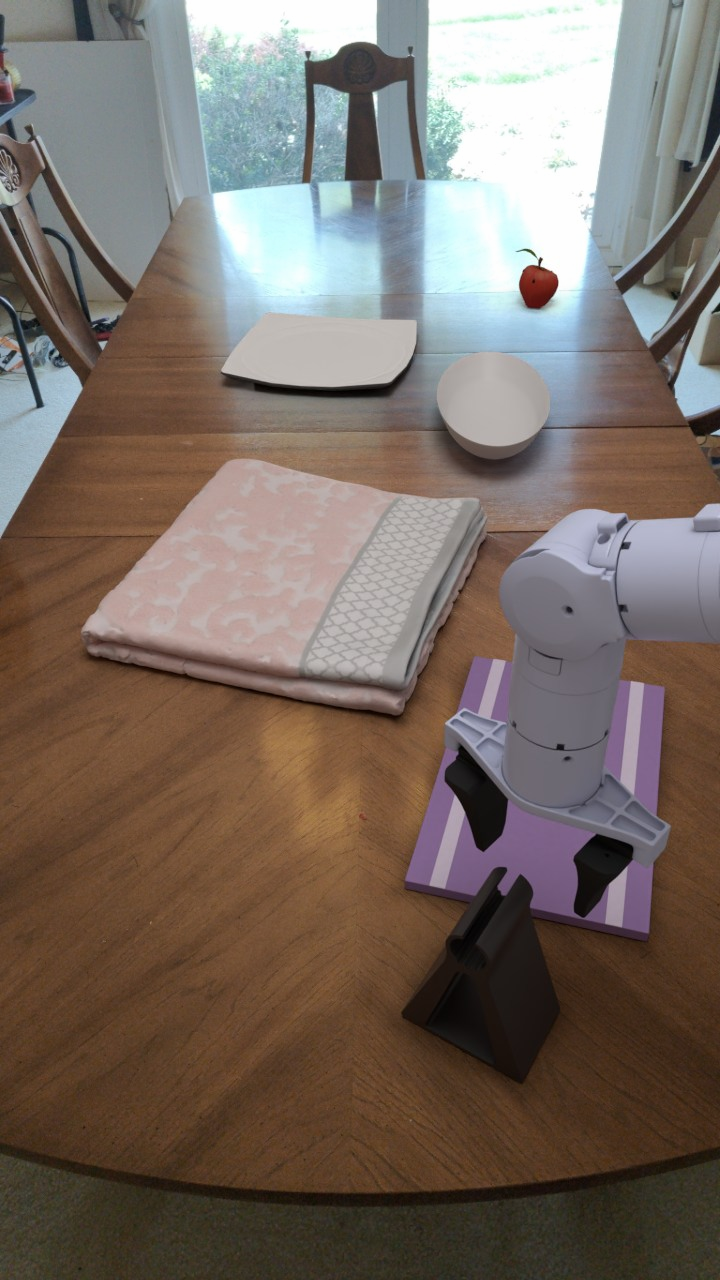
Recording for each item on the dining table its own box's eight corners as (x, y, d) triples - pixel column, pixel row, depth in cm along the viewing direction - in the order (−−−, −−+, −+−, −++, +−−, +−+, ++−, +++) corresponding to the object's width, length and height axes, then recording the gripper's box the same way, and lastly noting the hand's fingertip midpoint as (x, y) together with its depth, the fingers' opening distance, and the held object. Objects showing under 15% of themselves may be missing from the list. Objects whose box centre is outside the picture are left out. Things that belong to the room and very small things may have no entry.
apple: (549, 298, 178) (555, 241, 171) (560, 312, 172) (566, 253, 166) (508, 301, 177) (512, 244, 171) (517, 314, 172) (522, 255, 165)
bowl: (436, 390, 147) (438, 350, 143) (537, 391, 146) (541, 351, 142) (433, 488, 124) (435, 444, 120) (554, 491, 122) (559, 447, 119)
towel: (406, 730, 89) (406, 681, 85) (77, 659, 98) (65, 613, 94) (491, 531, 115) (494, 488, 112) (227, 489, 124) (222, 448, 121)
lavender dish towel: (646, 942, 71) (649, 933, 70) (404, 888, 75) (404, 880, 74) (663, 694, 92) (665, 686, 91) (473, 663, 96) (474, 655, 95)
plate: (262, 324, 170) (261, 309, 168) (425, 333, 165) (426, 317, 164) (210, 392, 148) (208, 375, 146) (397, 404, 143) (397, 387, 142)
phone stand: (560, 1012, 67) (581, 902, 59) (521, 1085, 63) (539, 976, 55) (444, 951, 70) (450, 840, 63) (400, 1015, 67) (402, 905, 59)
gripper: (714, 739, 53) (670, 897, 61) (497, 630, 61) (484, 783, 69) (646, 811, 49) (609, 970, 57) (424, 685, 57) (419, 840, 65)
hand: (536, 872), depth 63 cm, fingers open, 7 cm apart
